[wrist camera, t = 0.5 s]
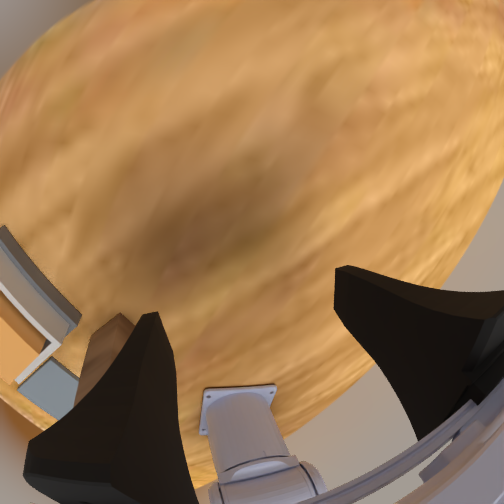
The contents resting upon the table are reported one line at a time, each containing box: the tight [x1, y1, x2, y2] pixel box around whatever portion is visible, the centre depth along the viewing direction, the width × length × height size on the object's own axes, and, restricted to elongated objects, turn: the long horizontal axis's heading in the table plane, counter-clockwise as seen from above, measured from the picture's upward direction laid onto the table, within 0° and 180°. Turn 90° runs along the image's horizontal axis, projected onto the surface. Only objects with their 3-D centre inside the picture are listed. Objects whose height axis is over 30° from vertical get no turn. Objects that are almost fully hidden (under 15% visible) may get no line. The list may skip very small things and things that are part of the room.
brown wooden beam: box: [73, 313, 135, 408], centre depth 17 cm, size 4×4×8 cm
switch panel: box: [0, 225, 82, 384], centre depth 15 cm, size 10×10×4 cm
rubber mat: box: [17, 357, 80, 420], centre depth 21 cm, size 10×10×1 cm
